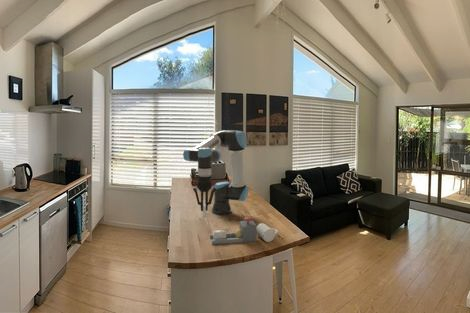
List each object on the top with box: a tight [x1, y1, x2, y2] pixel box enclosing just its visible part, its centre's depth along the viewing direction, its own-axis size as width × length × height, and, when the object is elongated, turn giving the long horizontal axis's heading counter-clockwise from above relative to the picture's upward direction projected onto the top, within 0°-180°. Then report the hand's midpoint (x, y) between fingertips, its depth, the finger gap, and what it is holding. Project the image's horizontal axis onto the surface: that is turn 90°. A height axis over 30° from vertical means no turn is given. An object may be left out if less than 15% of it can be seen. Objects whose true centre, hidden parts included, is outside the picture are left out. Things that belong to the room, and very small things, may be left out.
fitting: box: [212, 229, 227, 240], centre depth 157 cm, size 6×7×6 cm
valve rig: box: [209, 216, 258, 245], centre depth 159 cm, size 10×26×13 cm, turn 102°
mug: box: [256, 223, 279, 243], centre depth 164 cm, size 12×10×8 cm
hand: (204, 216), depth 154 cm, fingers closed
